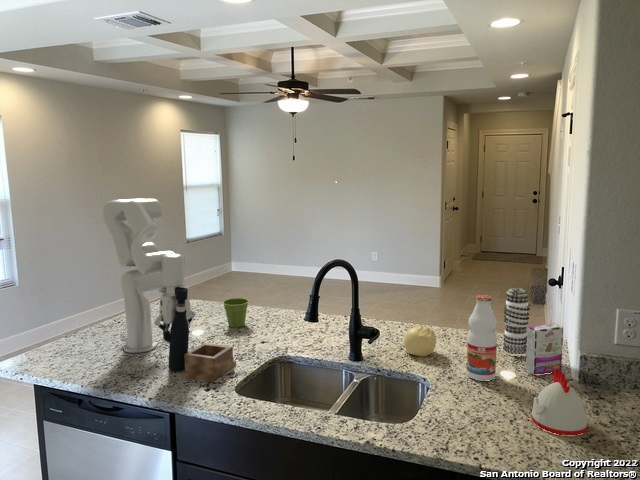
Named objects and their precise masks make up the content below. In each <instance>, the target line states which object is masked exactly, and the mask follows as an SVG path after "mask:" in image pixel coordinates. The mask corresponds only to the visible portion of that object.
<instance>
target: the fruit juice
mask: <svg viewBox="0 0 640 480" xmlns="http://www.w3.org/2000/svg"><path fill="white" fill-rule="evenodd" d="M492 299H493V298H492V296H491V295H487V294H478V295H476V296H475V301H476V304H475V305H474V308H473V311H472V313H471V315H469V318H468V327H469V331H468V333H467V340H466V341H467V345H466V347H467V349H466V376H467V375H468V376H469V377H471V378H473V379H477V380H491V379H494V380H495V378H496V371H497V370H496V369H497V367H496V366H497V345H498V344H497V343H498V337H497V333H496V330H497V328H498V320H497V318H496V317H495V314H494V311H493V307H492V305H491V303H492V301H493V300H492ZM468 376H467V377H468ZM469 377H468V378H469Z"/></svg>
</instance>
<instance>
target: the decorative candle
mask: <svg viewBox="0 0 640 480" xmlns="http://www.w3.org/2000/svg"><path fill="white" fill-rule="evenodd" d="M505 293H506V300H505V305H504V306H503V309H504V310H503V313H504V316H503V317H504V319H503V322H504V324H505V328H504V333H503V337H504V338H502V339H503V342H502V345H503V346H502V351H503V350H504V351H506V352H508V353H510V354H524V353H526V351H527V327H529V322H528V320H530V317H529V316H530V313H529V311H530V310H531V308H530V306H531V304H530V303H529V295H530V294H529V292H527V290H526V289H525V288H522V287H521V288H520V287H511V288H509V289H508V290H507V291H506V292H505Z"/></svg>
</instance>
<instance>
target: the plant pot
mask: <svg viewBox="0 0 640 480" xmlns="http://www.w3.org/2000/svg"><path fill="white" fill-rule="evenodd" d="M249 302H250V300H249V299H247V298H242V297H235V298H234V297H233V298H228V299H225V300H222V304H223V307H224V310H225V314H226V319H227V323H228V326H229V327H230V328H240V327H244V326H245V325H246V316H247V309H248V305H249Z"/></svg>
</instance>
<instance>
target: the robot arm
mask: <svg viewBox="0 0 640 480" xmlns="http://www.w3.org/2000/svg"><path fill="white" fill-rule="evenodd" d="M163 217H164V209H163V205H162V204H161V202H160V201H159V200H158V199H156V198H144V197H143V198H125V199H123V198H121V199H113V200H109V201H107V202H105V204H104V205H103V207H102V218H103V221H104V225H105V226H106V228H107V230H108V231H109V233H110V235H111V237H112V240H113V244H114V248H115V252H116V256H117V260H118V261H119V264H120V266H121V267H122V268H124V269H132V268H136V269H132V270H128V271H126V272H124V273H123V274H122V275H121V277H120V287H121V289H122V294H123V299H124V301H123V302H124V313H125V326H126V327H125V328H126V334H123V335H122V336H121V337H120V342H121V343H122V342H124V345H123V351H124V352H126V353H130V354H139V353H145V352H146V353H147V352H149V351H152V350H154V349H156V348H157V346H158V342H157V341H155V340H153V325H152V322H153V324H154V325H156V327H158V328H159V329H160V330H161V331H162V335H163V337H162V338H163V340H164V342H166V343H169V344H170V327H171V325H172V323H173V321H174V318H175V310H176V306H177V302H178V300H177V299H176V289H177V288H186V286H185V265H184V257H183V255H182V254H180V253H176V252H175V251H172V250H163V251H161V250H160V248H159V247H158V246H157V244H156V243H155V242H152V240H153V239H154V238H155V237H157V235H158V232H159V228H158V225H157V224H156V222H155V221H159V220H162V218H163ZM125 221H127V223H126V222H125ZM157 291H158V292H159V293H160V294H161V293H162V294H161V295H160V299H159V314H158V316H157V317H156V318H155V320H154V321H152V307H151V302H150V300H149V299H148V298H147V297H146V296H145V294H146V293H150V292H151V293H152V292H157ZM185 305H186V319H187V322H188V326H189V327H190V324H191V322H192V321H193V319H194V318H195V316H196V315H197V314H196V313H195V312H194V311H193V310H192V309H191V302H190V298H189V294H188V295H187V300H185ZM161 322H162V323H161Z"/></svg>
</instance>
